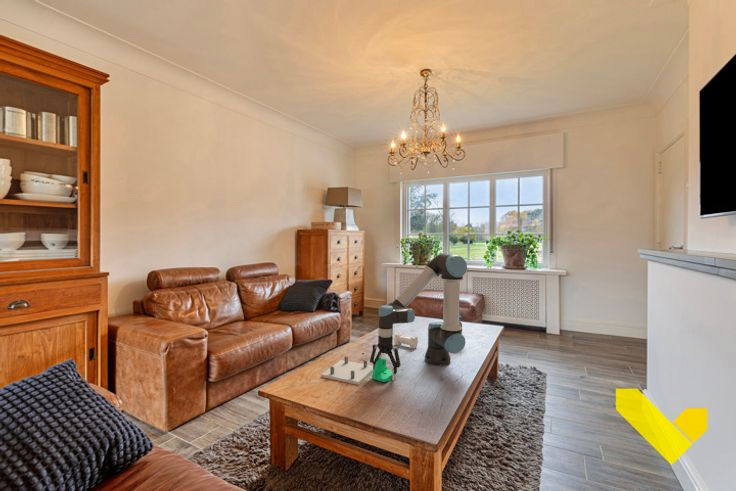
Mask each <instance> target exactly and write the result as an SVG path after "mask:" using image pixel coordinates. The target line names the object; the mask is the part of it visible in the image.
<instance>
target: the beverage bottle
mask: <svg viewBox="0 0 736 491" xmlns="http://www.w3.org/2000/svg"><path fill="white" fill-rule="evenodd" d="M461 321H462V316H461V315H460V314H459V326H460V327H461V328H462V329H463V324H462V322H461Z"/></svg>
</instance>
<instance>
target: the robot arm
mask: <svg viewBox="0 0 736 491" xmlns="http://www.w3.org/2000/svg"><path fill="white" fill-rule="evenodd" d="M467 270H468V264H467V262H466V259H465V258H464V257H462V256H460V255H457V254H452V253H444V252H443V253H439V254H437V255H435V256H434V257H433V258H432V259H430V261H429V262H428V263H426V264H425V266H424V269H423V270H422V271H421V272H420V273H419V275H417V276H416V278H414V280H412V282H411V283H410V284H409V285H408V286H407V287H406V288H405V289H404V290H403V291H402V292H401V293H400V294H399V295H398V296H397V297H396V298H395V299H394V301H390V302H388V303H387V304H385V305H381V306H379V308H378V327H377V328H378V329H377V330H378V332H377V334H378V337H377V339H378V340H377V341H378V343H373V344H372V345H371V346H372V351H371V355H370V359H369V363H371V364H372V366H373V370H374V368H375V365H376V362H377V360H378V358H379V357H380V358H381V355H382V354H385V355H387V356H388V357H389V360H390V361H391V365H392V368H391V370H392V380H391V381H394V380H395V379H396V375H397V372H398V368H400V367H401V360H400V356H399V347H398V346H397V347H395V346H394V345H393V342H394V338H393V334H394V332H393V331H394V330H393V328H394V325H395V324H397V325H399V324H411V323H414V321H415V319H416V313H415V311H414V309H413V308H412V307H411V308H409V307H408V306H409V305H410V304H411V303H412V302H413V301H414V300H415V299H416V298H417V297H418V296H419V295H420V294H421V293H422V292H423V290H424V289H425V288H426V287H427V286H428V285H429V284H430V283H431V282H432V281H433V280H434V279H437V278H439V277H440V278H441V280H442V281H443V307H442V308H443V312H442V315H443V316H442V320H443V321H432V322H429V323H428V328H427V331H428V332H427V338H428V339H427V349H426V352H425V354H424V362H426V363H427V364H430V365H433V366H434V365H435V366H446V365H447V366H448V365H449V364H450V363H451V354H459V353H461V352H462V350H464V348H465V346H466V338H465V336H464V335H463V327H462V328H461V327H460V326H459V315H460V287H461V282H462V280H463V279H464V276H465V274H466V273H467ZM377 349H378V350H379V351H378V352H376V351H377ZM392 350H393V351H392ZM376 353H377V354H376ZM393 354H394V355H393ZM395 374H396V375H395Z"/></svg>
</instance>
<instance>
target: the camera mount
mask: <svg viewBox="0 0 736 491" xmlns="http://www.w3.org/2000/svg"><path fill="white" fill-rule="evenodd" d="M395 376H397V373H396V374H395ZM371 379H373V380H376V381H379V382H382V383H385V382H387V383H389V382H390V381H392V369H389V368H388V367H387V359H386V358H383V357H381V356H380V357H379V358H378V360H377V362H376V365H375V368H374V371H373V372H372V373H371Z"/></svg>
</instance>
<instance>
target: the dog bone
mask: <svg viewBox="0 0 736 491" xmlns="http://www.w3.org/2000/svg"><path fill="white" fill-rule="evenodd" d="M402 334H403V333H401V332H397V333H394V338H393V342H394V346H399V345H402V344H404V345H408V346H409V348H410V349H411V350H414V349H417V347H418V344H419V340H418V337H417V336H416V335H412V336H410V337H408V336H407V337H406V336H403V335H402Z"/></svg>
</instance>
